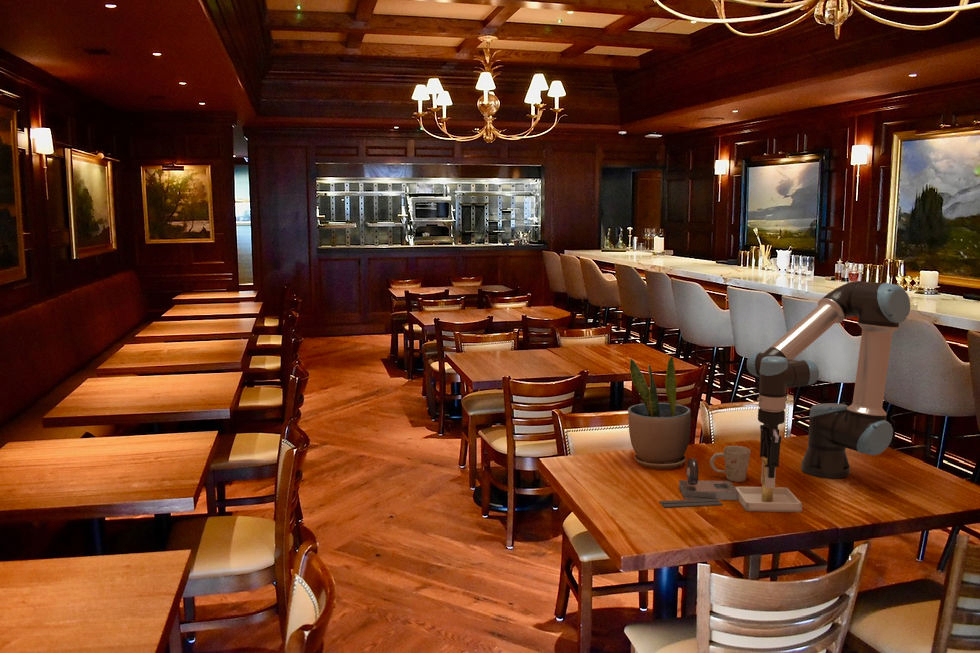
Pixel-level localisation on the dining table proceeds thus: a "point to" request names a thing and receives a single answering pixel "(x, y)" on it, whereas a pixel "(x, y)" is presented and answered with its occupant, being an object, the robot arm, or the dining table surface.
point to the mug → (733, 462)
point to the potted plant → (658, 423)
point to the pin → (766, 492)
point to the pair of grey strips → (690, 503)
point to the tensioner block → (705, 486)
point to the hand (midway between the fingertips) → (767, 485)
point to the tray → (780, 503)
